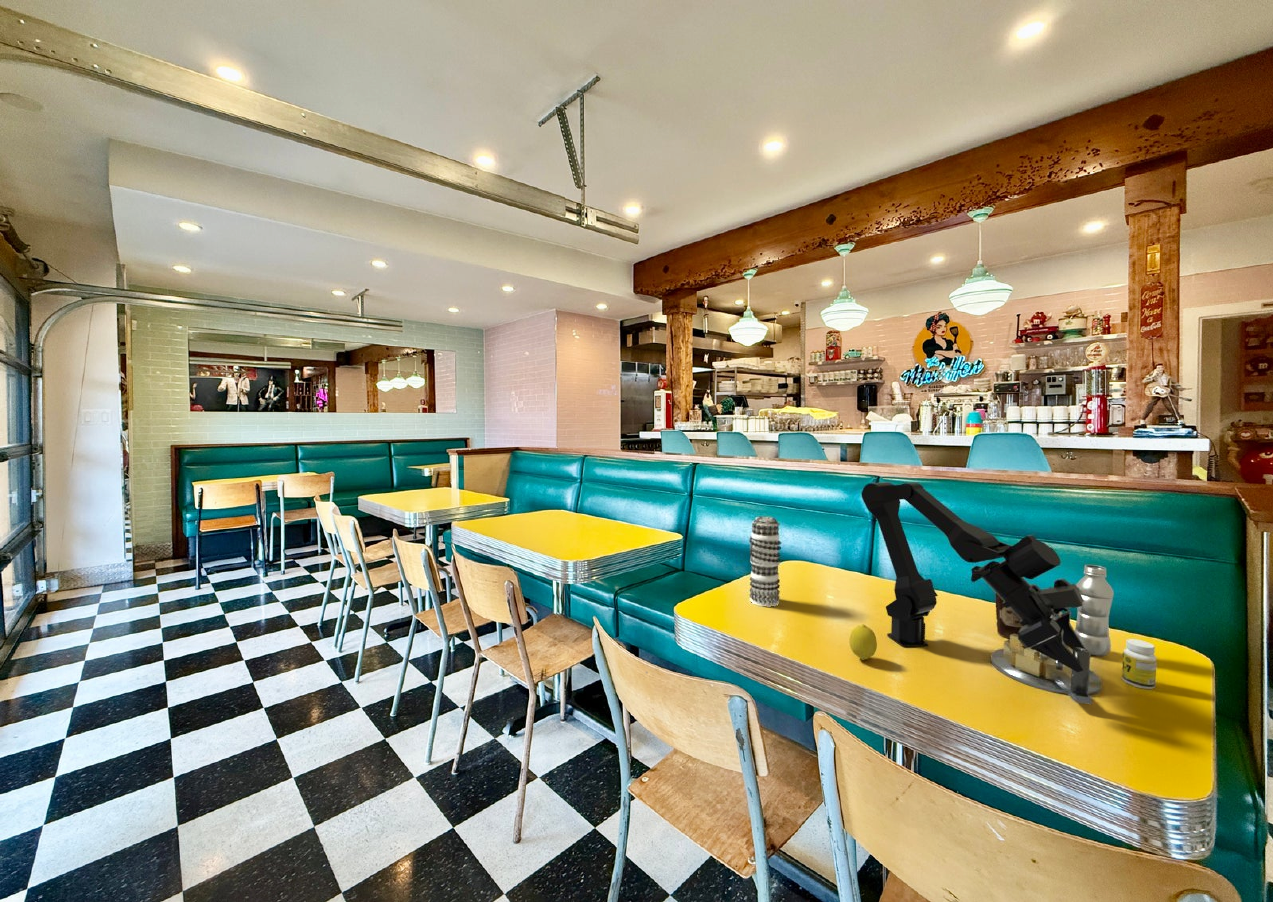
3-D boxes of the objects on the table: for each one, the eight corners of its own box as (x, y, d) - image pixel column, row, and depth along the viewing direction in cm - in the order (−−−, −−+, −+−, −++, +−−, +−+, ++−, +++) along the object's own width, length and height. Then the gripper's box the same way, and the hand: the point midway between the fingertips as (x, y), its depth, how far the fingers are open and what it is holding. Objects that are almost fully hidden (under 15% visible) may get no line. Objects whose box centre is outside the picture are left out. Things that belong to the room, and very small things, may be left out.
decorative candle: (744, 603, 144) (744, 518, 143) (754, 594, 152) (755, 514, 151) (775, 609, 139) (776, 522, 138) (784, 599, 147) (785, 516, 146)
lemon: (874, 668, 106) (875, 631, 105) (847, 661, 109) (848, 626, 108) (877, 657, 111) (878, 623, 110) (851, 651, 113) (852, 617, 113)
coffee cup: (1043, 645, 117) (1045, 591, 116) (1003, 642, 118) (1005, 589, 118) (1022, 630, 125) (1024, 580, 125) (985, 627, 127) (987, 578, 126)
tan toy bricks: (995, 647, 112) (997, 606, 112) (1065, 656, 108) (1067, 613, 108) (1040, 698, 91) (1042, 648, 91) (1128, 711, 87) (1131, 659, 87)
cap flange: (1043, 697, 94) (1045, 662, 94) (970, 654, 112) (972, 624, 112) (1127, 692, 96) (1129, 657, 96) (1043, 650, 114) (1044, 621, 114)
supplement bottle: (1118, 675, 103) (1120, 635, 102) (1149, 681, 101) (1152, 641, 100) (1126, 685, 99) (1128, 644, 98) (1159, 692, 96) (1161, 650, 96)
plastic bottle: (1100, 648, 115) (1104, 564, 114) (1117, 661, 109) (1122, 572, 108) (1066, 644, 117) (1070, 561, 116) (1081, 657, 111) (1085, 569, 110)
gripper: (1044, 578, 88) (1127, 660, 81) (1058, 558, 101) (1130, 627, 94) (989, 609, 94) (1061, 687, 87) (1008, 586, 107) (1072, 653, 100)
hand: (1083, 662), depth 92 cm, fingers open, 9 cm apart
